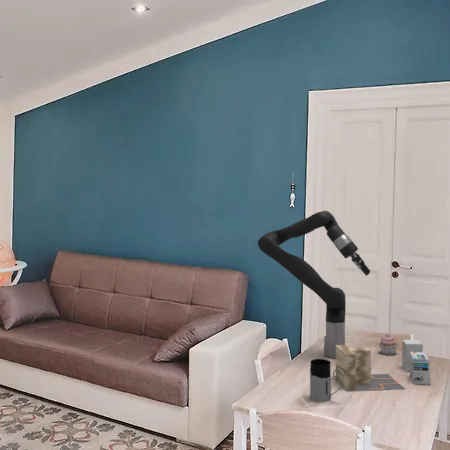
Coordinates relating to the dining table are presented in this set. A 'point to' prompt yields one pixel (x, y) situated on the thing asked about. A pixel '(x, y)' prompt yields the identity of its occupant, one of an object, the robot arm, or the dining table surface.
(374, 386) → the charcoal board
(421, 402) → the dining table surface
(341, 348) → the maple T block
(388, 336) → the cupcake
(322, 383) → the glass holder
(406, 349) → the supplement box
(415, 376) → the light bulb box
